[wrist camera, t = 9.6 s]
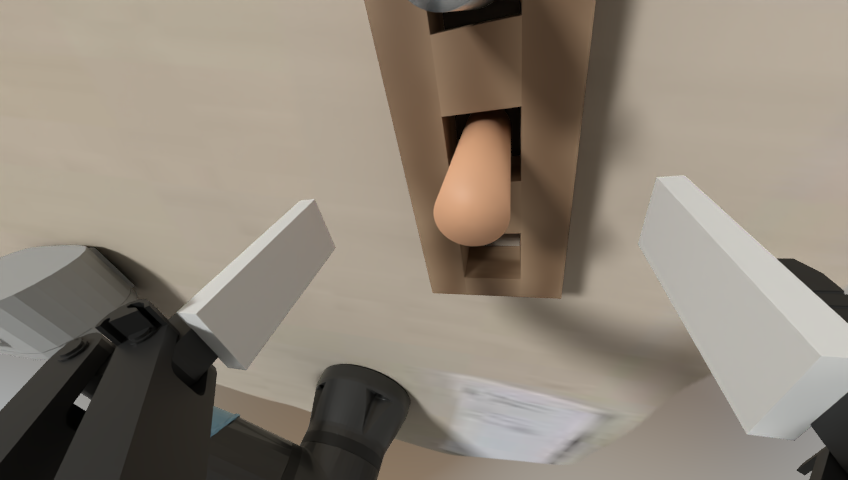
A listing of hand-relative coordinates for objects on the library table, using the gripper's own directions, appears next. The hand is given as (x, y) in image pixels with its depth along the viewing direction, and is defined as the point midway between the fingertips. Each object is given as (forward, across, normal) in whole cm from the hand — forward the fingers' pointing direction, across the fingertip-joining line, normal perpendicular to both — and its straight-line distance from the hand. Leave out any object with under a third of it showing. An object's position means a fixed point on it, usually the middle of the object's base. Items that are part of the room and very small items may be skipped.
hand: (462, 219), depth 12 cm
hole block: (+11, 0, 0) cm, 11 cm away
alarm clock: (+12, -60, -14) cm, 62 cm away
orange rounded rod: (+11, 0, 0) cm, 11 cm away
